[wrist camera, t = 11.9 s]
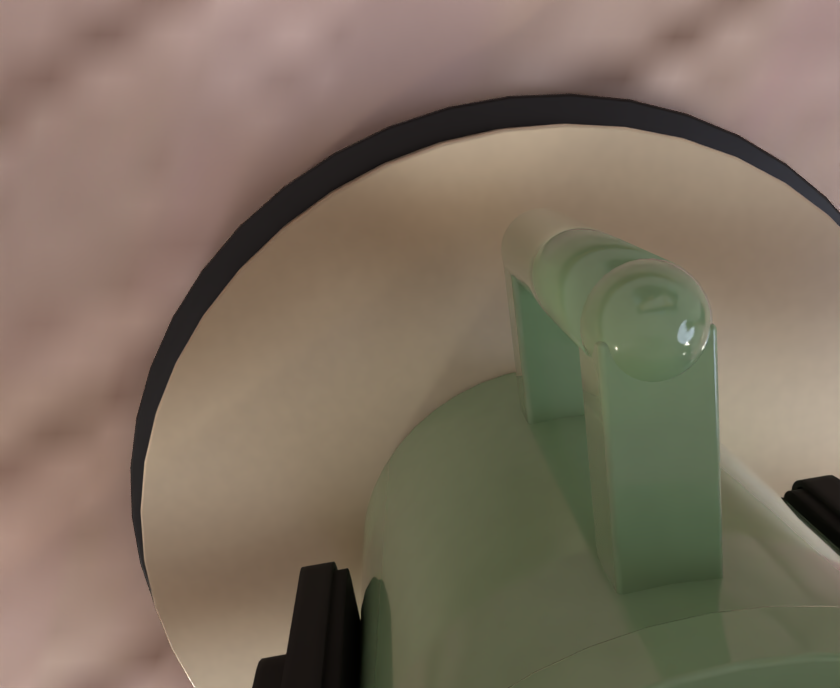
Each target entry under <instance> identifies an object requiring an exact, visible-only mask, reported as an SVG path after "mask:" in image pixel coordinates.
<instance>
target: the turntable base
mask: <svg viewBox="0 0 840 688" xmlns="http://www.w3.org/2000/svg"><path fill="white" fill-rule="evenodd" d="M550 124H580V125H599V126H619V127H628V128H634V129H639V130H644V131H649V132H654V133H659V134H664V135H669V136H674V137H680V138H684V139H687V140H689V141H692V142H695V143H698V144H701V145H704V146H707V147H709V148H712V149H715V150H718V151H721V152H724V153H726V154H729V155H732V156H735V157H737V158H739V159H741V160H743V161H745V162H747V163H749V164H751V165H752V166H754V167H756V168H758V169H760V170H762V171H764V172H766V173H767V174H769V175H771V176H773V177H775V178H777V179H779V180H781V181H783V182H784V183H786V184H787V185H789V186H790V187H791V188H793V189H794V190H795V191H797V192H798V193H799V194H801V195H802V196H803V197H805V198H806V199H807V200H809V201H810V202H811V203H813V204H814V205H815V206H817V207H818V208H819V209H821V210H822V211H823V212H825V213H826V214H827V215H829V216H830V217H831V218H832V219H833V220H834V221H835V222H836V224H837V225H838V226H839V227H840V213H839V211H838V210H837V209H836V208H835V207H834V206H833V205H832V203H831V202H830V201H829V200H828V199H827V198H826V197H825V196H824V195H823V194H822V193H820V192H819V191H818V190H817V189H816V188H814V187H813V186H812V185H811V184H810V183H808V182H807V181H806V180H805V179H804V178H802V177H801V176H800V175H799V174H798V173H796V172H795V171H794V170H793V169H792V168H791V167H789V166H788V165H787V164H786V163H784V162H782V161H781V160H779V159H777V158H776V157H774V156H772V155H771V154H769V153H767V152H766V151H764V150H762V149H761V148H759V147H758V146H756V145H754V144H753V143H751V142H749V141H748V140H746V139H744V138H743V137H741V136H739V135H737V134H735V133H732V132H730V131H727V130H725V129H723V128H720V127H718V126H715V125H713V124H710V123H708V122H706V121H703V120H701V119H698V118H696V117H694V116H691V115H689V114H686V113H682V112H678V111H674V110H670V109H666V108H662V107H658V106H654V105H650V104H646V103H642V102H638V101H634V100H630V99H620V98H610V97H600V96H590V95H580V94H570V93H569V94H545V95H521V96H506V97H501V98H495V99H490V100H484V101H479V102H473V103H468V104H462V105H457V106H451V107H447V108H444V109H441V110H438V111H435V112H432V113H429V114H425V115H422V116H419V117H416V118H413V119H410V120H407V121H404V122H401V123H398V124H395V125H392V126H389V127H387V128H385V129H383V130H381V131H379V132H377V133H375V134H372V135H370V136H368V137H366V138H364V139H362V140H360V141H358V142H356V143H354V144H352V145H350V146H348V147H346V148H344V149H342V150H340V151H338V152H336V153H334V154H332V155H331V156H329V157H328V158H326V159H325V160H323V161H322V162H320V163H319V164H317V165H316V166H314V167H313V168H312V169H310V170H309V171H307V172H306V173H304V174H303V175H301V176H300V177H298V178H297V179H295V180H294V181H292V182H291V183H289V184H288V185H286V186H285V187H283V188H282V189H281V190H280V191H279V192H278V193H277V194H275V195H274V196H273V197H272V198H271V199H270V200H269V201H268V202H266V203H265V204H264V205H263V206H262V207H261V208H260V209H259V210H257V211H256V212H255V213H254V214H253V215H252V216H251V217H250V218H248V219H247V220H246V221H245V222H244V223H243V224H242V225H241V226H240V227H239V228H238V229H237V230H236V231H235V232H234V234H233V235H232V236H231V237H230V238H229V239H228V241H227V242H226V243H225V244H224V245H223V247H222V248H221V249H220V250H219V251H218V252H217V254H216V255H215V256H214V257H213V258H212V259H211V261H210V262H209V263H208V264H207V265H206V267H205V268H204V269H203V270H202V271H201V273H200V275H199V276H198V278H197V279H196V281H195V283H194V284H193V286H192V287H191V289H190V291H189V292H188V294H187V295H186V297H185V299H184V300H183V302H182V303H181V305H180V306H179V308H178V310H177V311H176V313H175V314H174V316H173V318H172V320H171V322H170V324H169V326H168V329H167V331H166V333H165V336H164V338H163V340H162V342H161V345H160V347H159V349H158V351H157V354H156V356H155V358H154V360H153V363H152V365H151V367H150V371H149V374H148V378H147V381H146V385H145V389H144V392H143V396H142V400H141V403H140V407H139V410H138V414H137V418H136V426H135V434H134V442H133V451H132V459H131V467H130V469H131V503H132V519H133V525H134V531H135V536H136V542H137V547H138V553H139V558H140V564H141V567H142V570H143V572H144V575H145V578H146V581H147V584H148V587H149V590H150V593H151V596H152V592H151V588H150V583H149V579H148V574H147V570H146V566H145V561H144V552H143V538H142V525H141V500H142V487H143V474H144V462H145V458H146V453H147V449H148V445H149V441H150V436H151V432H152V428H153V423H154V419H155V415H156V411H157V409H158V406H159V404H160V401H161V399H162V396H163V394H164V391H165V389H166V386H167V384H168V381H169V379H170V376H171V374H172V371H173V369H174V366H175V363H176V362H177V360H178V358H179V356H180V355H181V353H182V351H183V350H184V348H185V346H186V344H187V343H188V341H189V339H190V337H191V336H192V334H193V332H194V330H195V329H196V327H197V325H198V324H199V322H200V320H201V318H202V317H203V315H204V314H205V312H206V311H207V310H208V309H209V307H210V306H211V305H212V304H213V302H214V301H215V300H216V298H217V297H218V296H219V295H220V293H221V292H222V291H223V290H224V288H225V287H226V286H227V284H228V283H229V282H230V281H231V279H232V278H233V277H234V276H235V274H236V273H237V272H238V270H239V269H240V268H241V267H242V266H243V265H244V264H245V263H246V262H247V261H248V260H249V259H250V258H251V257H252V256H254V255H255V254H256V253H257V252H258V251H259V250H260V249H261V248H262V247H263V246H264V245H265V244H266V243H267V242H268V241H269V240H270V239H271V238H272V237H273V236H274V235H275V234H276V233H277V232H278V231H280V230H281V229H282V228H283V227H284V226H285V225H286V224H287V223H289V222H290V221H291V220H293V219H294V218H296V217H297V216H298V215H300V214H301V213H302V212H304V211H305V210H307V209H308V208H309V207H311V206H312V205H313V204H315V203H316V202H318V201H319V200H320V199H322V198H323V197H324V196H326V195H327V194H329V193H330V192H331V191H333V190H335V189H337V188H338V187H340V186H342V185H344V184H346V183H348V182H350V181H351V180H353V179H355V178H357V177H359V176H361V175H363V174H364V173H366V172H368V171H370V170H372V169H374V168H376V167H377V166H379V165H381V164H383V163H385V162H388V161H391V160H393V159H396V158H399V157H401V156H404V155H407V154H409V153H412V152H415V151H417V150H420V149H423V148H425V147H428V146H431V145H433V144H436V143H439V142H443V141H447V140H452V139H456V138H460V137H465V136H469V135H473V134H478V133H482V132H487V131H491V130H495V129H504V128H516V127H527V126H538V125H550ZM152 599H153V596H152ZM153 602H154V601H153Z"/></svg>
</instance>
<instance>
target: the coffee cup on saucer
mask: <svg viewBox="0 0 840 688" xmlns="http://www.w3.org/2000/svg"><path fill="white" fill-rule="evenodd" d="M825 475H833V476H835V477H837V478H838V479H840V227H839V226H838V225H837V224H836V222H835V221H834V220H833V219H832V218H831V217H830V216H829V215H827V214H826V213H825V212H823V211H822V210H821V209H819V208H818V207H817V206H815V205H814V204H813V203H811V202H810V201H809V200H807V199H806V198H805V197H803V196H802V195H801V194H799V193H798V192H797V191H795V190H794V189H793V188H791V187H790V186H789V185H787V184H786V183H784V182H783V181H781V180H779V179H777V178H775V177H773V176H771V175H769V174H767V173H766V172H764V171H762V170H760V169H758V168H756V167H754V166H752V165H751V164H749V163H747V162H745V161H743V160H741V159H739V158H737V157H735V156H732V155H729V154H726V153H724V152H721V151H718V150H715V149H712V148H709V147H707V146H704V145H701V144H698V143H695V142H692V141H689V140H687V139H684V138H680V137H674V136H669V135H664V134H659V133H654V132H649V131H644V130H639V129H634V128H628V127H619V126H599V125H580V124H550V125H538V126H527V127H516V128H504V129H495V130H491V131H487V132H482V133H478V134H473V135H469V136H465V137H460V138H456V139H452V140H447V141H443V142H439V143H436V144H433V145H431V146H428V147H425V148H423V149H420V150H417V151H415V152H412V153H409V154H407V155H404V156H401V157H399V158H396V159H393V160H391V161H388V162H385V163H383V164H381V165H379V166H377V167H376V168H374V169H372V170H370V171H368V172H366V173H364V174H363V175H361V176H359V177H357V178H355V179H353V180H351V181H350V182H348V183H346V184H344V185H342V186H340V187H338V188H337V189H335V190H333V191H331V192H330V193H329V194H327V195H326V196H324V197H323V198H322V199H320V200H319V201H318V202H316V203H315V204H313V205H312V206H311V207H309V208H308V209H307V210H305V211H304V212H302V213H301V214H300V215H298V216H297V217H296V218H294V219H293V220H291V221H290V222H289V223H287V224H286V225H285V226H284V227H283V228H282V229H281V230H280V231H278V232H277V233H276V234H275V235H274V236H273V237H272V238H271V239H270V240H269V241H268V242H267V243H266V244H265V245H264V246H263V247H262V248H261V249H260V250H259V251H258V252H257V253H256V254H255V255H254V256H252V257H251V258H250V259H249V260H248V261H247V262H246V263H245V264H244V265H243V266H242V267H241V268H240V269H239V270H238V272H237V273H236V274H235V276H234V277H233V278H232V279H231V281H230V282H229V283H228V284H227V286H226V287H225V288H224V290H223V291H222V292H221V293H220V295H219V296H218V297H217V298H216V300H215V301H214V302H213V304H212V305H211V306H210V307H209V309H208V310H207V311H206V312H205V314H204V315H203V317H202V318H201V320H200V322H199V324H198V325H197V327H196V329H195V330H194V332H193V334H192V336H191V337H190V339H189V341H188V343H187V344H186V346H185V348H184V350H183V351H182V353H181V355H180V356H179V358H178V360H177V362H176V363H175V366H174V369H173V371H172V374H171V376H170V379H169V381H168V384H167V386H166V389H165V391H164V394H163V396H162V399H161V401H160V404H159V406H158V409H157V411H156V415H155V419H154V423H153V428H152V432H151V436H150V441H149V445H148V449H147V453H146V458H145V462H144V474H143V487H142V500H141V525H142V538H143V552H144V561H145V566H146V570H147V574H148V579H149V583H150V588H151V592H152V596H153V601H154V605H155V608H156V610H157V613H158V616H159V618H160V621H161V623H162V626H163V628H164V631H165V633H166V636H167V638H168V641H169V644H170V646H171V648H172V650H173V652H174V654H175V655H176V657H177V659H178V661H179V662H180V664H181V666H182V668H183V669H184V671H185V673H186V675H187V676H188V678H189V680H190V682H191V683H192V685H193V687H194V688H252V686H253V681H254V677H255V672H256V668H257V665H258V662H259V661H260V660H261V659H262V658H267V657H273V656H278V655H284V654H286V652H287V646H288V640H289V634H290V628H291V622H292V616H293V610H294V604H295V598H296V592H297V586H298V580H299V574H300V570H301V568H302V567H305V566H310V565H316V564H322V563H328V562H333V561H334V562H335V563H336V566H337V569H338V570H340V569H345V568H348V569H349V571H350V575H351V579H352V584H353V588H354V593H355V597H356V602H357V607H358V611H359V616H360V620H361V623H360V659H359V688H840V548H838V547H837V546H836V545H835V544H834V543H833V542H832V541H831V540H830V539H828V538H827V537H826V536H825V535H824V534H823V533H822V532H821V531H820V530H818V529H817V528H816V527H815V526H814V525H813V524H812V523H811V522H810V521H808V520H807V519H806V518H805V517H804V516H803V515H802V514H801V513H800V512H798V511H797V510H796V509H795V508H794V507H793V506H792V505H791V504H790V503H788V502H787V501H786V500H785V499H784V494H785V493H786V492H787V491H791V490H792V486H793V483H794V482H795V481H797V480H802V479H808V478H814V477H819V476H825Z"/></svg>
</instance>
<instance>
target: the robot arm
mask: <svg viewBox="0 0 840 688" xmlns="http://www.w3.org/2000/svg"><path fill="white" fill-rule="evenodd" d="M784 499H785V500H786V501H787V502H788V503H790V504H791V505H792V506H793V507H794V508H795V509H796V510H797V511H798V512H800V513H801V514H802V515H803V516H804V517H805V518H806V519H807V520H808V521H810V522H811V523H812V524H813V525H814V526H815V527H816V528H817V529H818V530H820V531H821V532H822V533H823V534H824V535H825V536H826V537H827V538H828V539H830V540H831V541H832V542H833V543H834V544H835V545H836V546H837V547H838V548H840V479H838V478H837V477H835V476H833V475H825V476H819V477H814V478H808V479H802V480H797V481H795V482H794V483H793V486H792V490H791V491H787V492H786V493H785V494H784ZM360 623H361V620H360V616H359V611H358V607H357V602H356V597H355V593H354V588H353V584H352V579H351V575H350V571H349V569H348V568H345V569H340V570H338V569H337V566H336V563H335V562H334V561H333V562H328V563H322V564H316V565H310V566H305V567H302V568H301V570H300V574H299V580H298V586H297V592H296V598H295V604H294V610H293V616H292V622H291V628H290V634H289V640H288V646H287V652H286V654H284V655H278V656H273V657H267V658H262V659H261V660H260V661H259V662H258V665H257V668H256V672H255V677H254V681H253V686H252V688H359V659H360Z"/></svg>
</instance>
